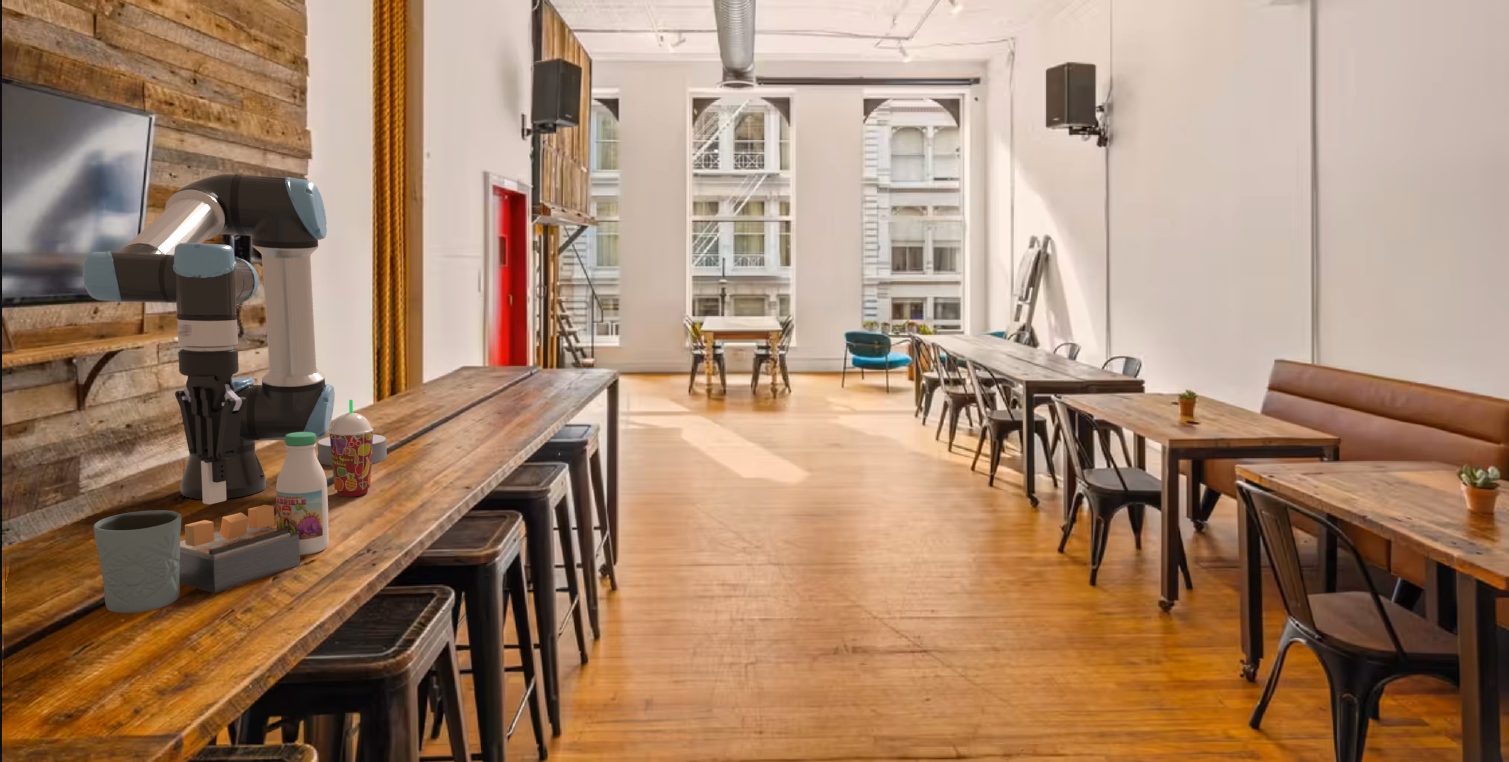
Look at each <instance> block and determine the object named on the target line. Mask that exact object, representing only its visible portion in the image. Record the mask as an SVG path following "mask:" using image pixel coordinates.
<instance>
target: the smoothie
mask: <svg viewBox="0 0 1509 762" xmlns="http://www.w3.org/2000/svg"><path fill="white" fill-rule="evenodd" d="M353 403H354V402H353V399H349V400H348V404H349V405H348V409H349V412H346V413H343V414H341V415H340V416H338V417H337V418H336V419H335V420H334V421H333V423H332V425H331V427H330V428H329V430H328V433H329V437H330V444H331V455H332V466H331V467H332V476H333V486H334V490H335V491H336V492H337V493H336V494H337V495H338V496H340V497H343V498H344V497H346V498H354V497H361V496H363V495H365V494H367V493H368V490H369V488H370V487H371V478H372V474H371V473H372V464H371V462H372V443H373V434H374V430H375V429H374V427H372V424H371V423H370V421H369V420H368V419H367V418H366V417H365V416H364V415H362V414H360V413H356V412H354V405H353Z"/></svg>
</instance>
